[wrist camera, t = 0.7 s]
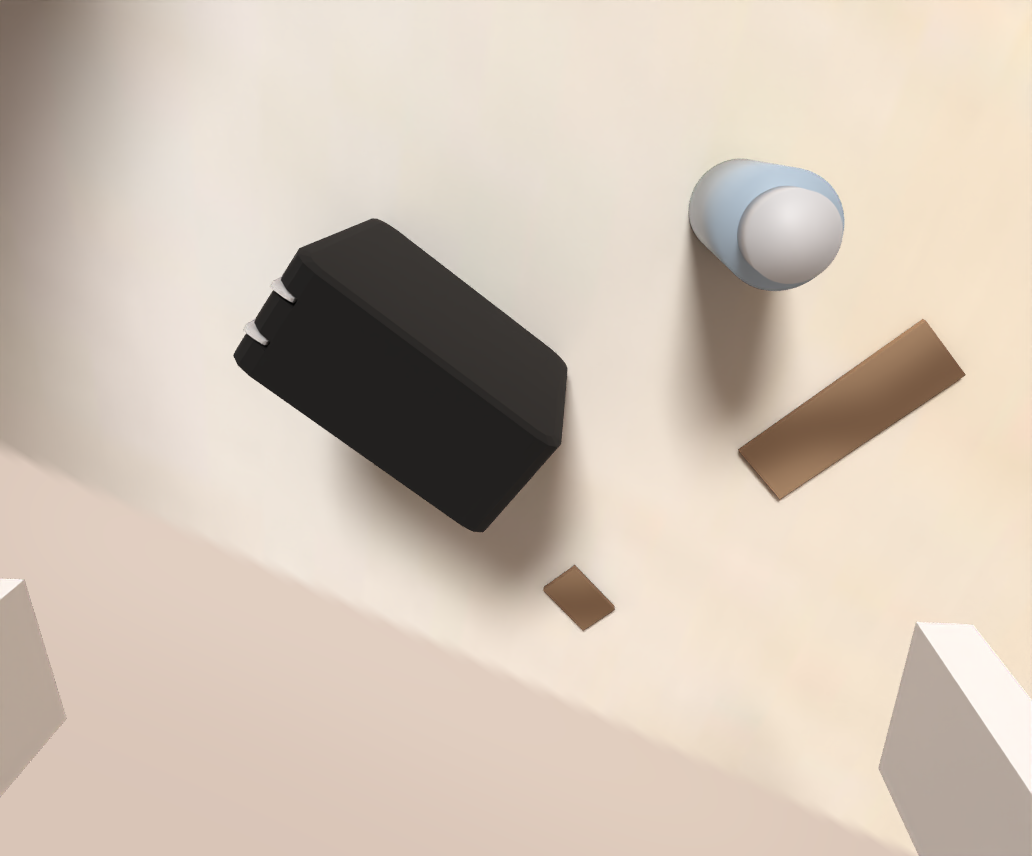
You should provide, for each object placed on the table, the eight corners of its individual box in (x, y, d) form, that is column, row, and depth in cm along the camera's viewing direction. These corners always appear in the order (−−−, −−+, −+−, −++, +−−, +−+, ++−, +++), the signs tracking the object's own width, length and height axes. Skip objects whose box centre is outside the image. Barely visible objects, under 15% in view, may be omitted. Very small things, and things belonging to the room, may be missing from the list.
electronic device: (511, 429, 34) (482, 543, 24) (327, 293, 32) (221, 359, 23) (569, 360, 32) (562, 453, 23) (379, 213, 30) (289, 250, 21)
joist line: (543, 587, 36) (543, 590, 36) (922, 319, 30) (926, 320, 30) (583, 626, 37) (583, 630, 37) (962, 372, 31) (965, 375, 30)
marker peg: (670, 203, 29) (702, 231, 21) (746, 138, 28) (812, 141, 20) (725, 272, 30) (778, 326, 22) (801, 211, 29) (887, 243, 21)
